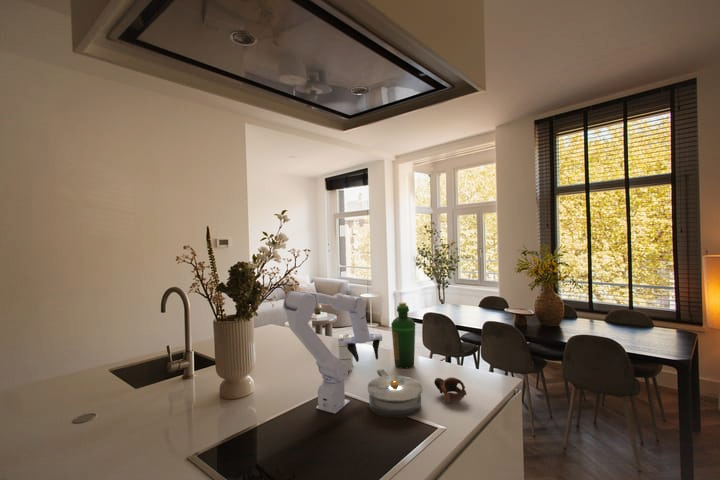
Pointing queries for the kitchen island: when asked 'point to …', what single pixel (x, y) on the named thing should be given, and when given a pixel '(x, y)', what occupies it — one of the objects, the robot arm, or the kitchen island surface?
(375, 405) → the cooker pot
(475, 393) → the kitchen island surface
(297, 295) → the robot arm
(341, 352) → the syrup box
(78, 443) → the kitchen island surface
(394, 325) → the bottle
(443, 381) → the pottery mug
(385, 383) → the cooker lid
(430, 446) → the kitchen island surface
